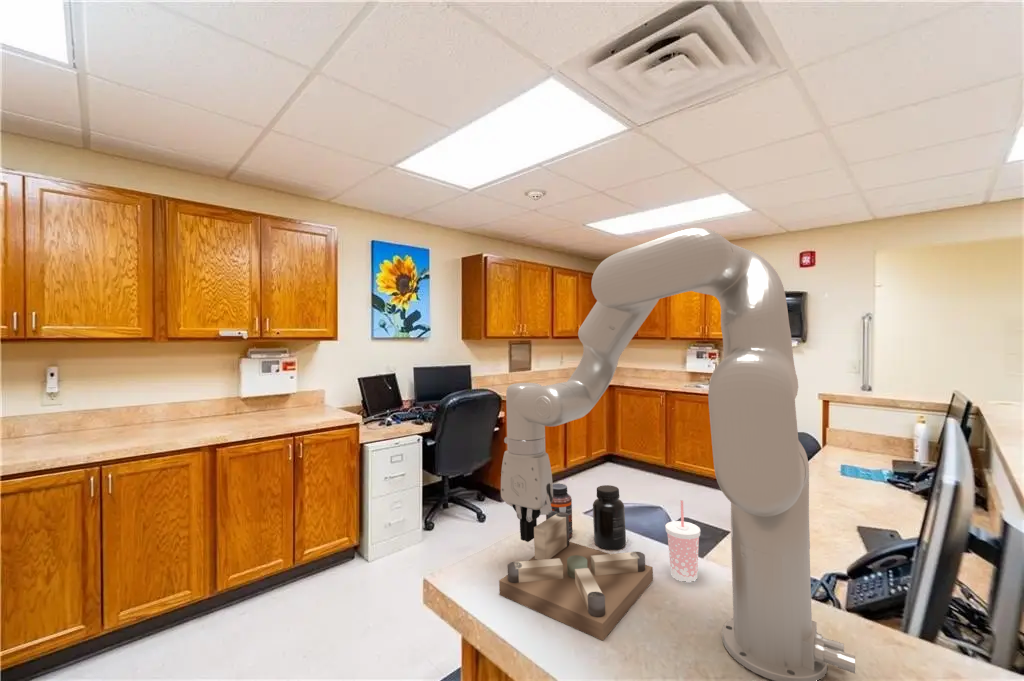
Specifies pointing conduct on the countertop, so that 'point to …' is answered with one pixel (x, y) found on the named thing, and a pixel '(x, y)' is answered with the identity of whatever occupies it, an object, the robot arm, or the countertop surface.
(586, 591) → the stool seat
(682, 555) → the beverage cup
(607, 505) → the supplement bottle
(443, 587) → the countertop surface
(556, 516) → the hinged leg
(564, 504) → the supplement bottle
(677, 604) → the countertop surface
